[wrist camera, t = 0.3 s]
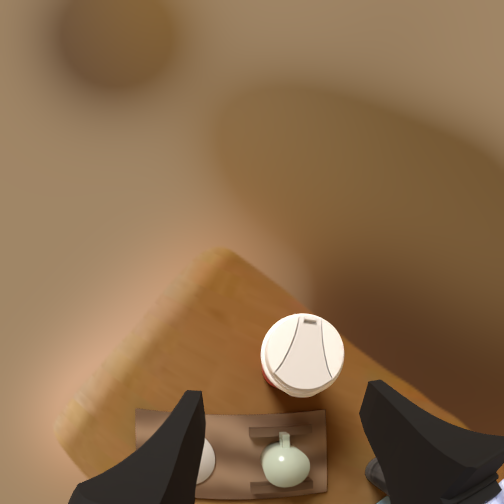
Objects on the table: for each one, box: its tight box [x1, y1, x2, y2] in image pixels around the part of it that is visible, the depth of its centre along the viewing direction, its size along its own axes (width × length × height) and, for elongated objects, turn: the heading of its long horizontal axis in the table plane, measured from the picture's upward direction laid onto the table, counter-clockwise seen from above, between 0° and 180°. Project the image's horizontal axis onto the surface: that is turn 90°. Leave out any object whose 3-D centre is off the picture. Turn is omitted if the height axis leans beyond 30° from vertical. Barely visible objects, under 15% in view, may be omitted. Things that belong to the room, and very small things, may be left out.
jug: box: [260, 432, 310, 487], centre depth 28 cm, size 7×5×6 cm
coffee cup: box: [261, 314, 344, 397], centre depth 32 cm, size 8×8×15 cm
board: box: [136, 409, 327, 499], centre depth 30 cm, size 13×26×3 cm, turn 91°
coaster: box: [196, 438, 215, 484], centre depth 30 cm, size 9×9×1 cm
